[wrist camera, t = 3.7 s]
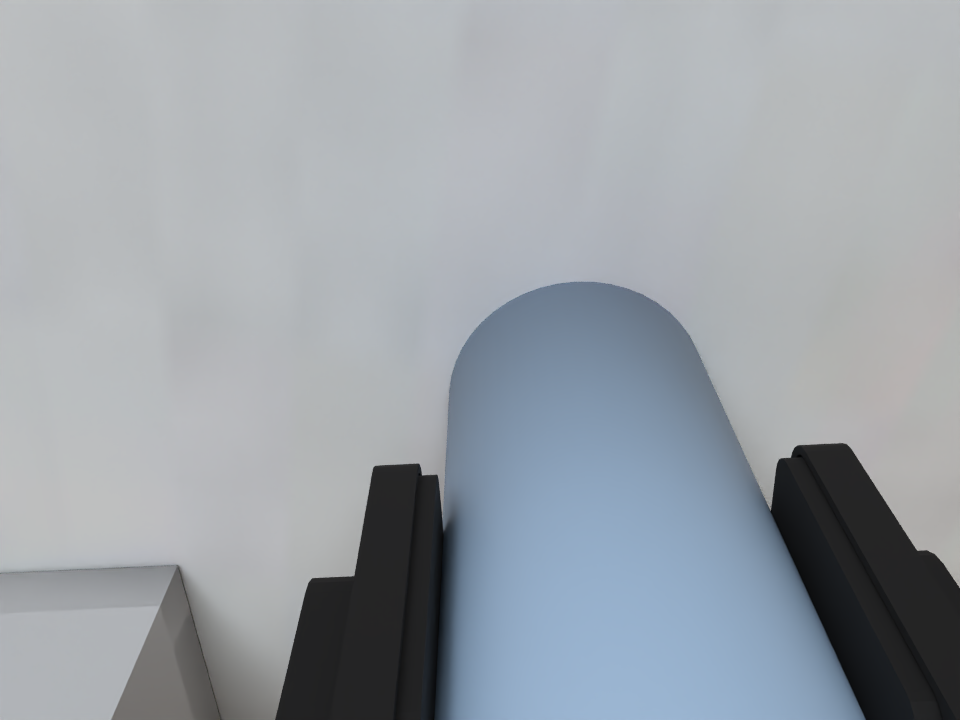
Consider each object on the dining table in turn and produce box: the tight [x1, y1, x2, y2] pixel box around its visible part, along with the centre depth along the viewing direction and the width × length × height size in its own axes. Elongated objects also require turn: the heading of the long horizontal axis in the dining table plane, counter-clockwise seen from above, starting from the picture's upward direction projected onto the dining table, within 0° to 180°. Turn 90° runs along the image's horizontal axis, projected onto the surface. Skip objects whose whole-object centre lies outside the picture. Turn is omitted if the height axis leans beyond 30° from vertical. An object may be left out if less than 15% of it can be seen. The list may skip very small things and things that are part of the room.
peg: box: [434, 282, 866, 720], centre depth 9 cm, size 4×4×12 cm
